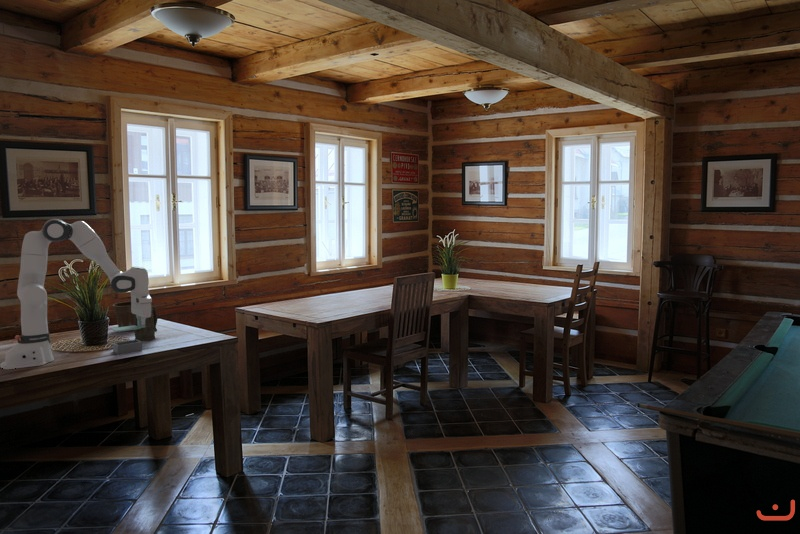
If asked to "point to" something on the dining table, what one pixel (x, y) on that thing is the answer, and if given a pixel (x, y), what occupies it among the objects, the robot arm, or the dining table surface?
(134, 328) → the lid
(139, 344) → the tub
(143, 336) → the beer stein
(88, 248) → the robot arm
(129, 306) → the plant pot
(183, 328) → the dining table surface
